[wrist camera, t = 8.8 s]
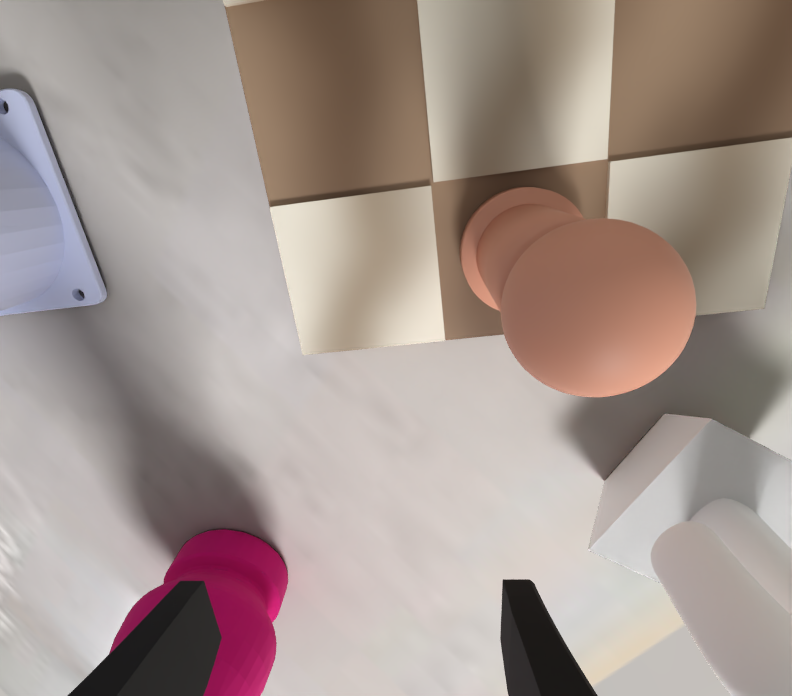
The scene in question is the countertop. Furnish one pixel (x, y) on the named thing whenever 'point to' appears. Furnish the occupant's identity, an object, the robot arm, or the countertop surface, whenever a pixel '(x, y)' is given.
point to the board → (508, 143)
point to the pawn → (578, 292)
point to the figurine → (710, 543)
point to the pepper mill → (229, 605)
